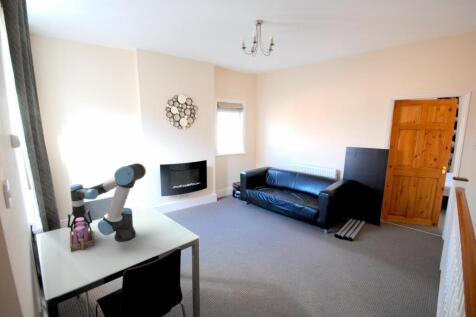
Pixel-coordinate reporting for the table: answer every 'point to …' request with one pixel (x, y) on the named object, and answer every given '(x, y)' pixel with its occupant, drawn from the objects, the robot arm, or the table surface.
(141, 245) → the table surface
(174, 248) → the table surface
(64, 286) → the table surface
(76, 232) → the gum box
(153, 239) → the table surface
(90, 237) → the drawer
